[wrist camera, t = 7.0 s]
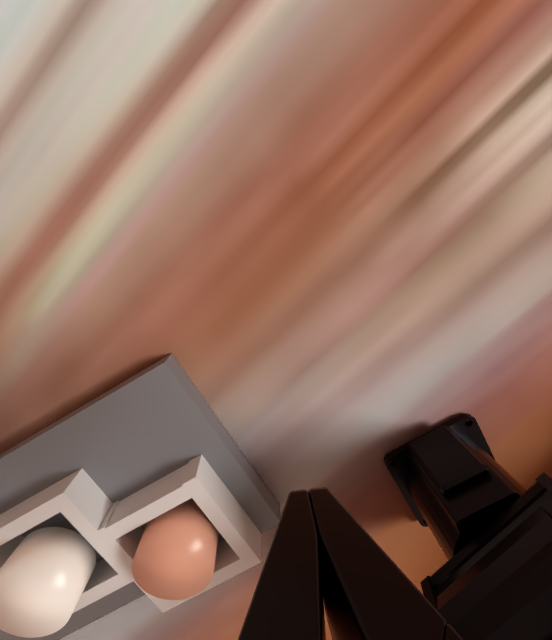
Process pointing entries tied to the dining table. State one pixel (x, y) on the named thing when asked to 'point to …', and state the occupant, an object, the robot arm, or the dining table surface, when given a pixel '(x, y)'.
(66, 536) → the white button
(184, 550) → the terracotta button
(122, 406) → the button panel
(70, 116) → the dining table surface
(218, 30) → the dining table surface
